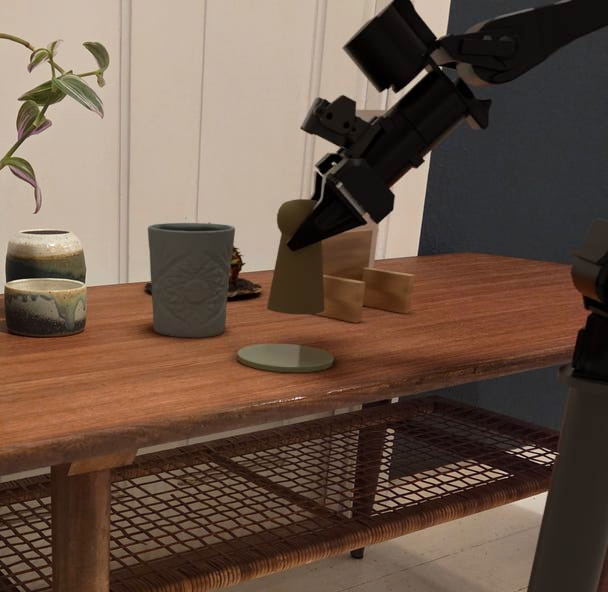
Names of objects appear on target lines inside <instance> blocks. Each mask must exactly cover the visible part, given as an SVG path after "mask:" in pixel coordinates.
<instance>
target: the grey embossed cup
mask: <svg viewBox="0 0 608 592" xmlns="http://www.w3.org/2000/svg"><path fill="white" fill-rule="evenodd" d="M208 223H209V222H208ZM208 223H204V222H170V223H169V222H168V223H167V222H166V223H156V224H151V225H149V226H148V227H147V239H148V249H149V269H150V270H149V271H150V272H149V273H150V283H152V292H151V302H152V323H153V330H154V332H156V333H157V334H161V335H163V336H164V335H165V336H171V337H177V338H209V337H214V336H219V335H221V334H223V333H224V332H225V329H226V323H227V303H228V297H227V296H228V289H229V277H230V266H231V259H232V253H233V246H234V243H235V234H236V227H235V226H232V225H229V224H220V223H211V224H208Z"/></svg>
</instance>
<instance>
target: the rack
mask: <svg viewBox="0 0 608 592" xmlns="http://www.w3.org/2000/svg"><path fill="white" fill-rule="evenodd" d="M372 232H373V230H370V229H360V230H349V231H346V232H343V233H340V234H338V235H335V236H332V237H330V238H327V239H324V240H322V260H323V285H324V311H323V312H321V313H316V314H315V315H318V316H322V317H326V318H331V319H335V320H340V321H344V322H347V323H348V322H350V323H353V324H356V323H357V324H358V323H361V322H362V314H363V307H368V308H374V309H378V310H383V311H387V312H394V313H398V314H402V315H406V314H410V313H411V307H412V301H413V293H414V285H415V278H416V274H412V273H405V272H400V271H393V270H387V269H381V268H380V269H379V268H376V267H375V268H369V258H370V250H371V241H372Z"/></svg>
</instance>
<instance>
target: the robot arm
mask: <svg viewBox="0 0 608 592" xmlns="http://www.w3.org/2000/svg"><path fill="white" fill-rule="evenodd" d="M606 27H608V0H559V1H556V2H551V3H547V4H542V5H537V6H534V7H529V8H526V9H522V10H518V11H513V12H509V13H505V14H502V15H501V14H500V15H498V16H495V17H492V18H490V19H487V20H484V21H482V22H479V23H477V24H474V25H473V26H472V27H470V28H468V29H467V30H466V31H465V32H464V33H463V34H455V33H454V32H451V33H448V34H445V35H442V36H440V37H439V38H438V37H437V36H436V34H435V32H433V31H432V29H431V28H430V26H429V25H428V24H427V23H426V21H424V20H423V18H422V17H421V16H420V14H419V13H418V11H416V8H415V6H414V4H413V2H412V0H391V1H390V3H389V4H387V5H385V7H384V8H383V9H382V10H381V11H379V13H378V14H376V15H375V16H373V17H371V19H369V20H367V21H366V22H365V23H364V24H363V25H362V26H361V27H360V28H359V29H358V30H357V31H356V32H355V33H354V34H353V35H352V36H351V37H350V39H349V40H348V41H346V43H345V44H344V45H343V46H342V50H343V51H344V52H345V54H346V55H347V56H348V57H349V58H350V59H351V61H352V62H353V63H354V64H355V66H356V67H357V68H358V70H359V71H360V72H361V73H362V74H363V75H364V77H365V78H366V79H367V80H368V81H369V83H370V84H371V85H372V86H373V87H374V89H375V91H377V92H378V93H379V94H382V92H384V91H386V90H387V91H388V90H390V89H391V91H392V92H393V93H394V94H395V95H396V94H398V93H400V92H401V91H402V90H403V89H405V88H406V87H407V86H408V85H410V83H412V82H413V81H414V80H415V79H416V78H417V77H418V76H419V75H420V74H421V73H422V72H423V71H424V70H425V72H426V74H425V75H423V77H422V78H421V79H419V80H418V81H417V82H416V83H415V84H414V85H413V86H412V87H411V88H410V89H409V90H408V91H407V92H406V93H405V94H403V96H402V97H400V98H399V99H398V101H397V102H395V104H393V105H392V106H391V107H390V108H389V109H387V110H388V111H387V112H386V113H385V114H384V115H383V116H378V117H377V116H374V117H373V118H372V119H371V120H370V121H368V122H366V121H364V120H362V119H361V118H360V117H357V116H356V110H357V101H356V100H354V99H352V98H350V97H348V96H346V95H344V94H340V95H339V96H338V97H336V98H335V99H334V100H333V101H328V100H327V99H326V98H322V97H315V99H314V100H313V102H312V104H311V106H310V108H309V110H308V112H307V114H306V116H305V118H304V120H303V122H302V124H301V125H300V128H299V129H300V130H301V131H303V132H305V133H307V134H309V135H311V136H312V135H314V136H317V137H319V138H320V139H323V140H324V141H327V142H329V143H331V144H333V145H334V146H336V145H337V146H339V147H340V148H339V149H338V150H337V151H336V152H337V153H335V152H327V153H325V154H324V155H323V156H322V157H321V158H320V159H319V160H318V161H317V162H316V163H315V164H314V165H313V166H314V167H315V169H316V170H314V171H313V190H312V194H311V195H310V197H309V198H308V199H309V200H315V201H318V203H317V204H316V205H315V206H314V208H313V209H312V210H311V211H310V213H309V214H308V215H307V217H306V218H305V219H304V220H303V222H302V223H301V224H300V226H299V227H298V228H297V229H296V231H295V232H294V233H293V235H292V236H291V237H290V239H289V240H288V241H287V243H286V245H287V246H288V248H289V249H290V250H291V251H296V250H299V249H302V248H304V247H307V246H309V245H312V244H314V243H317V242H319V241H322V240H324V239H327V238H330V237H332V236H335V235H338V234H340V233H343V232H346V231H348V230H351V229H354V228H357V227H359V226H364V225H366V224H367V221H366V220H365V219H364V218H363V217H362V216H363V215H364V214H365V213H366V212H367V213H368V214H369V215H370V216H369V218H370V219H371V220H372V221H373V222H374V223H376V224H378V223H379V224H380V223H381V222H382V221H383V220H384V219H385V218H386V217H387V216H389V215H390V214H391V213H392V212H393V211H394V207H395V200H396V199H395V198H396V194H395V193H394V192H393V191H392V190H391V188H392V187H393V186H394V185H395V184H396V183H397V182H399V181H400V180H401V179H402V178H403V177H404V176H405V175H406V174H408V173H409V172H410V170H412V169H418V168H420V167H421V166H422V165H423V164H424V163H425V162H426V160H425V157H426V156H427V155H428V154H429V153H430V152H432V150H434V149H435V148H436V147H437V146H438V145H439V144H440V143H441V142H442V141H443V140H444V139H446V137H448V136H449V135H450V134H451V133H452V132H453V131H454V130H455V129H456V128H458V126H460V125H461V124H462V123H463V122H464V121H466V122H467V124H468V125H469V126H470V127H471V128H472V130H483V131H485V130H487V129H488V128H489V127H490V111H491V106H492V104H493V99H492V98H483V99H481V98H478V97H477V95H476V94H475V93H474V92H473V91H472V89H471V88H470V86H468V84H469V85H472V86H474V87H479V88H481V87H482V88H483V87H490V86H491V87H492V86H496V85H497V86H498V85H503V84H507V83H511V82H513V81H514V80H516V79H518V78H520V77H521V76H523V75H524V74H526V73H528V72H529V71H531V70H533V69H534V68H536V67H537V66H539V65H540V64H542V63H543V62H545V61H547V60H548V59H550V58H551V57H552V56H553V55H555V54H556V53H557V52H559V51H560V50H562V49H563V48H564V47H566V46H568V45H569V44H571V43H573V42H574V41H576V40H578V39H580V38H583V37H584V36H587V35H590V34H593V33H594V32H596V31H599V30H601V29H604V28H606ZM442 68H444V69H450V70H454V71H457V73H458V75H459V76H457V77H455V78H453V79H451V78H450V77H449V76H448V75H447V74H446V73H445V72H444V71H443V70H442ZM317 170H318V171H317ZM571 256H573V257H575V259H574V261H573V263H572V265H571V268H570V276H571V280H572V283H573V286H574V287H575V289H576V290H577V292H578V293H580V294H581V298H582V304H583V309H584V310H585V311H587V312H588V311H590V312H591V313H589V314H588V315H587V317H586V320H585V325H583V326H582V327H581V328H579V329H578V330H577V334H576V339H575V344H574V348H573V354H572V359H571V363H570V364H571V366H572V368H575V369H574V370H573V371H572V375H571V376H574V377H579V378H586V379H592V380H598V381H605V382H608V220H607V219H603V218H599V217H595V218H594V219H593V220H592V222H591V223H590V225H589V227H588V229H587V232H586V234H585V237H584V238H583V241H581V243H580V244H579V246H578V247H576V248H575V249H574V250H573V251H572V252H571Z"/></svg>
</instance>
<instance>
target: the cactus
mask: <svg viewBox="0 0 608 592" xmlns="http://www.w3.org/2000/svg"><path fill="white" fill-rule="evenodd" d="M203 223H205V221H204V222H203ZM208 224H212V222H210V221H209V222H208ZM239 250H240V248H238V247H236V246H235V245H233V253H232V259H231V266H230V277H229V289H228V296H227V298H232V297H236V296H237V297H238V296H243V295H251V294H255V293H256V294H257V293H260V292H261V291H262V290H263V286H262V285H260V284H259V283H254V282H252V281H251V280H248V279H246V278H243V277H239V275H240V272H242V269H243V266H245V265H246V264H247V263H246V262H243V259H242V257H244V255H243V254H241V251H239ZM144 289H146V290H147V291H148V290H149V291H150V292H151V293H152V283H151V282H146V284H145V285H144Z"/></svg>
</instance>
